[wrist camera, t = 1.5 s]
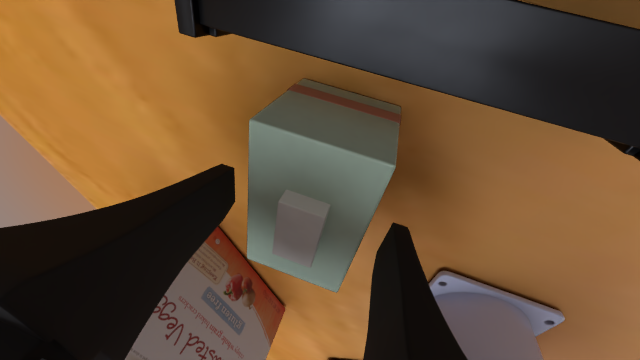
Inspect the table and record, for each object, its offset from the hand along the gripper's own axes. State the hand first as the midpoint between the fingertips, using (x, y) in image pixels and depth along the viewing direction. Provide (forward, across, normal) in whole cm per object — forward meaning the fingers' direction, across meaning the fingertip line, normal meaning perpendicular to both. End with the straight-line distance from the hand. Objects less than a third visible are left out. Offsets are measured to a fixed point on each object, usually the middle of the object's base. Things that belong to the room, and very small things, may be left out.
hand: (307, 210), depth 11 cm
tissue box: (+5, 0, 0) cm, 5 cm away
